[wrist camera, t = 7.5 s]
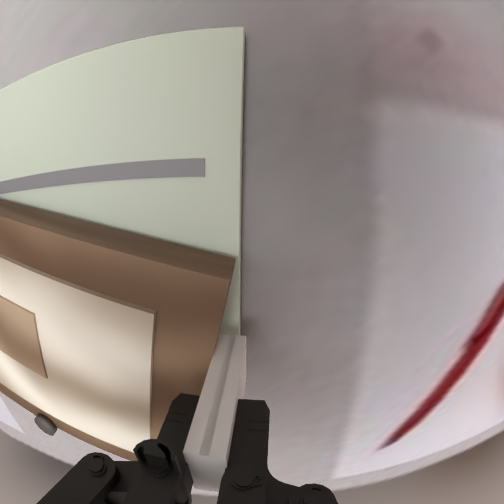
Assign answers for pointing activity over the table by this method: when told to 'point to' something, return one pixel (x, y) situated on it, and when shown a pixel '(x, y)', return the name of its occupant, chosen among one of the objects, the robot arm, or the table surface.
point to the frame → (103, 325)
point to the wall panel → (136, 142)
